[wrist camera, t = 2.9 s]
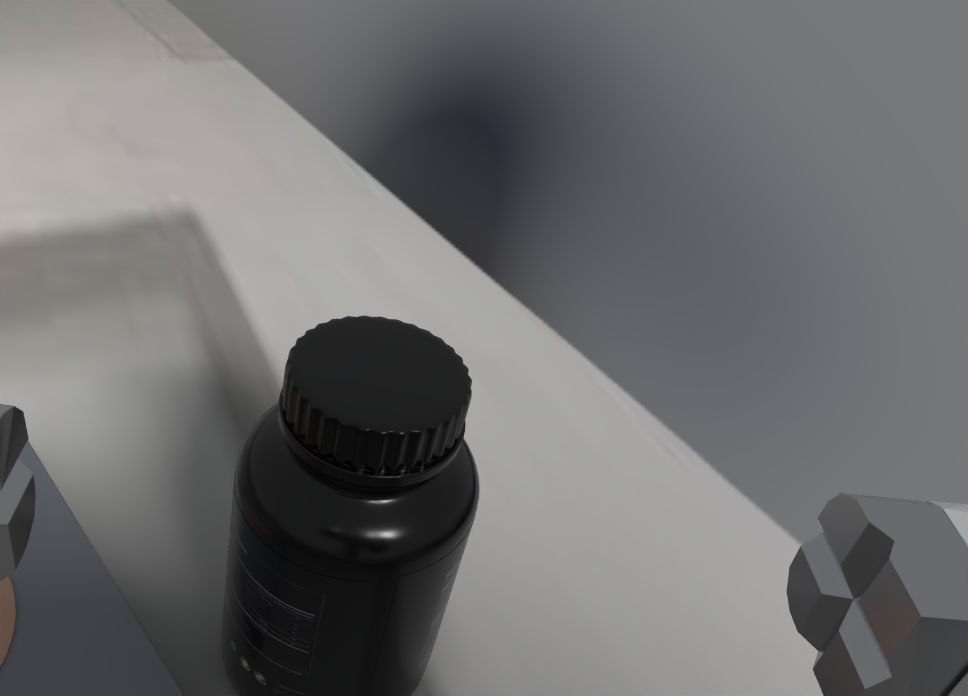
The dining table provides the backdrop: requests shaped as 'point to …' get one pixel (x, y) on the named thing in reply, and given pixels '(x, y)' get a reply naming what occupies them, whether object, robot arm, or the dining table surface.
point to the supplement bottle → (350, 515)
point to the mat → (70, 614)
